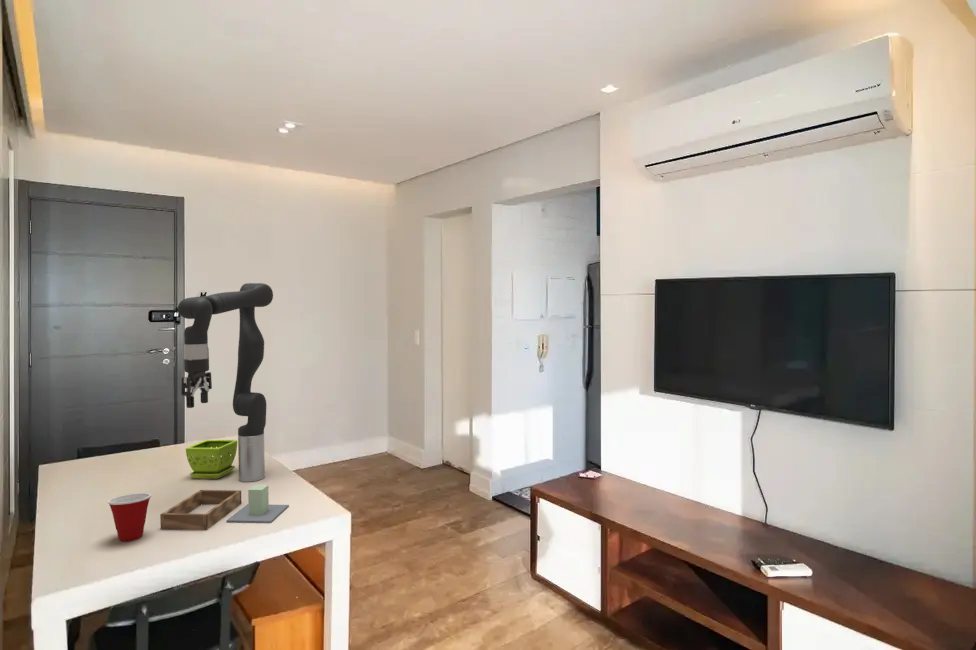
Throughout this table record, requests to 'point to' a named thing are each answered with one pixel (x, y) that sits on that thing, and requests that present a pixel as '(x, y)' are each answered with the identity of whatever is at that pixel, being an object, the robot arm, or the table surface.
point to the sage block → (258, 499)
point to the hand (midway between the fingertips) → (197, 405)
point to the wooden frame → (184, 521)
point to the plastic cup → (129, 515)
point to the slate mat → (267, 517)
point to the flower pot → (211, 458)
